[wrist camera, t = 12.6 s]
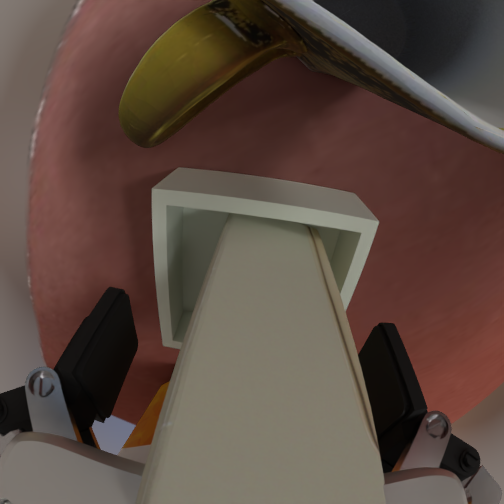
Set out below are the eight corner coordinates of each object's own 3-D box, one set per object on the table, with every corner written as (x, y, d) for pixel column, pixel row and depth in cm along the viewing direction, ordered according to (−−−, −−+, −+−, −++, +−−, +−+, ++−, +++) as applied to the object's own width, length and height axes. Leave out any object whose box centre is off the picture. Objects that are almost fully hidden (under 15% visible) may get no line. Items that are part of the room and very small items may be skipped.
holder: (354, 193, 13) (379, 221, 10) (313, 322, 17) (320, 365, 14) (178, 167, 13) (151, 188, 10) (178, 305, 17) (163, 345, 14)
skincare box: (275, 318, 16) (273, 539, 5) (200, 298, 15) (142, 522, 5) (321, 224, 13) (403, 524, 2) (229, 194, 12) (125, 526, 2)
